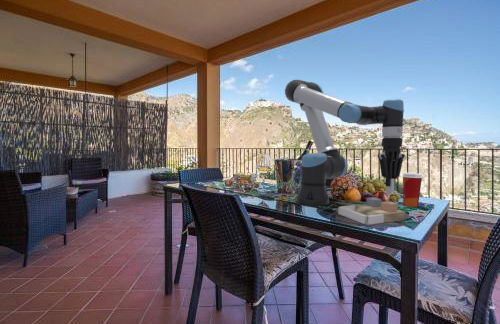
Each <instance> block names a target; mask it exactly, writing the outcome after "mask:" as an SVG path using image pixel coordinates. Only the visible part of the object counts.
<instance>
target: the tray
mask: <svg viewBox="0 0 500 324" xmlns="http://www.w3.org/2000/svg"><path fill="white" fill-rule="evenodd" d="M355 205H356V204H354V205H344V206H343V205H342V206H338V211H337V214H338V215H340V216H342V217H344V218H348V219H349V220H351V221H352V220H353V221H355V222H358V223H360V224H363V225H365V226H370V225H377V224H384V223H383V222H384V215H383V214H379V215H370V216H367V215H364V214H361V213H358V212H356V211H355V207H356V206H355Z"/></svg>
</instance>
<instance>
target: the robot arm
mask: <svg viewBox="0 0 500 324" xmlns="http://www.w3.org/2000/svg"><path fill="white" fill-rule="evenodd" d="M284 94H285V98H286V99H287V100H288V101H289V102H292V103H295V104H299V107H300V110H301V111H303V112H304V113H305V116H306V119H307V124H308V126H309V129H310V132H311V135H312V139H313V143H314V144H315V145H314V146H315V148H316V152H314V153H312V152H311V153H306V154H304V155H302V157H301V161H300V187H299V190H298V192H297V195H296V202H297V203H298V204H301V205H305V206H314V207H315V206H316V207H317V206H318V207H319V206H321V207H322V206H326V205H330V198H329V195H328V191H327V187H326V185H327V180H331V179H333V180H334V179H337V177H338V178H340V177H339V176H341V177H343V176H344V175H345V174H346V172H347V170H348V161H347V159H346V158H345V156H343V155H341V154H340V151H339V148H336V147H335V145H334V143H333V139H332V136H331V134H330V131H329V130H330V129H329V128H328V125H327V121H326V119H325V116H324V113H326V114H329V115H331V116H333V117H336V118H338V119H340V120H341V122H343V123H348V124H356V125H359V126H367V125H379V124H380V125H382V127H381V128H382V129H381V137H382V139H381V147H383V148H382V152H381V153H380V154H377V158H378V160H379V161H378V162H379V167H380V174H381V177H383V179H385V195H386V194H387V195H395V186H396V179H398V177H400V175H401V170H402V166H403V161H404V159H405V157H406V155H405V154H403V153H402V151H401V147H403V138H401V137H403V129H404V128H403V126H404V112H405V108H404V100H402V99H399V98H394V99H393V98H391V99H390V98H389V99H385V100H384V101H383V103H382V105H379V106H367V105H366V106H365V105H360V104H355V103H353V102H349V101H347V100H343V99H341V98H338V97H335V96H332V95H330V94H327V93H324V90H323V87H322V86H321V85H319V84H317V83H316V82H312V81H310V82H309V81H305V80H302V79H293V80H291V81H289V82H288V83H287V84H286V86H285V88H284Z"/></svg>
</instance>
